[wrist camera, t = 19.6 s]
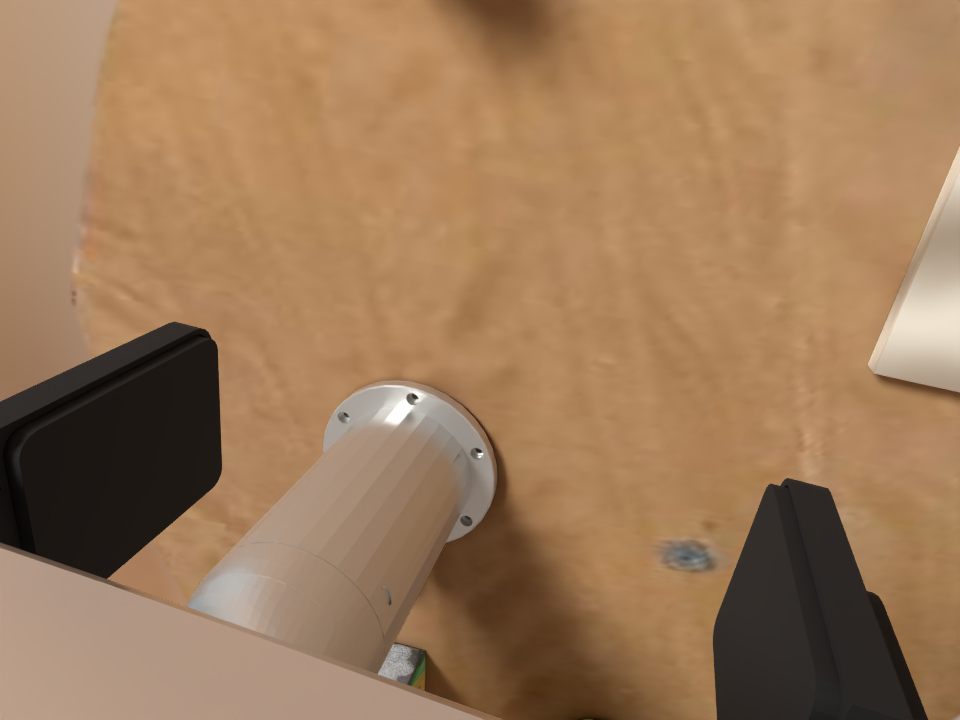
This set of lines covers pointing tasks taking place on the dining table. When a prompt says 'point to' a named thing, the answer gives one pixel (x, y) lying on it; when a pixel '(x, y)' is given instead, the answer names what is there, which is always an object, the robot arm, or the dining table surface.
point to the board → (928, 303)
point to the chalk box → (405, 666)
